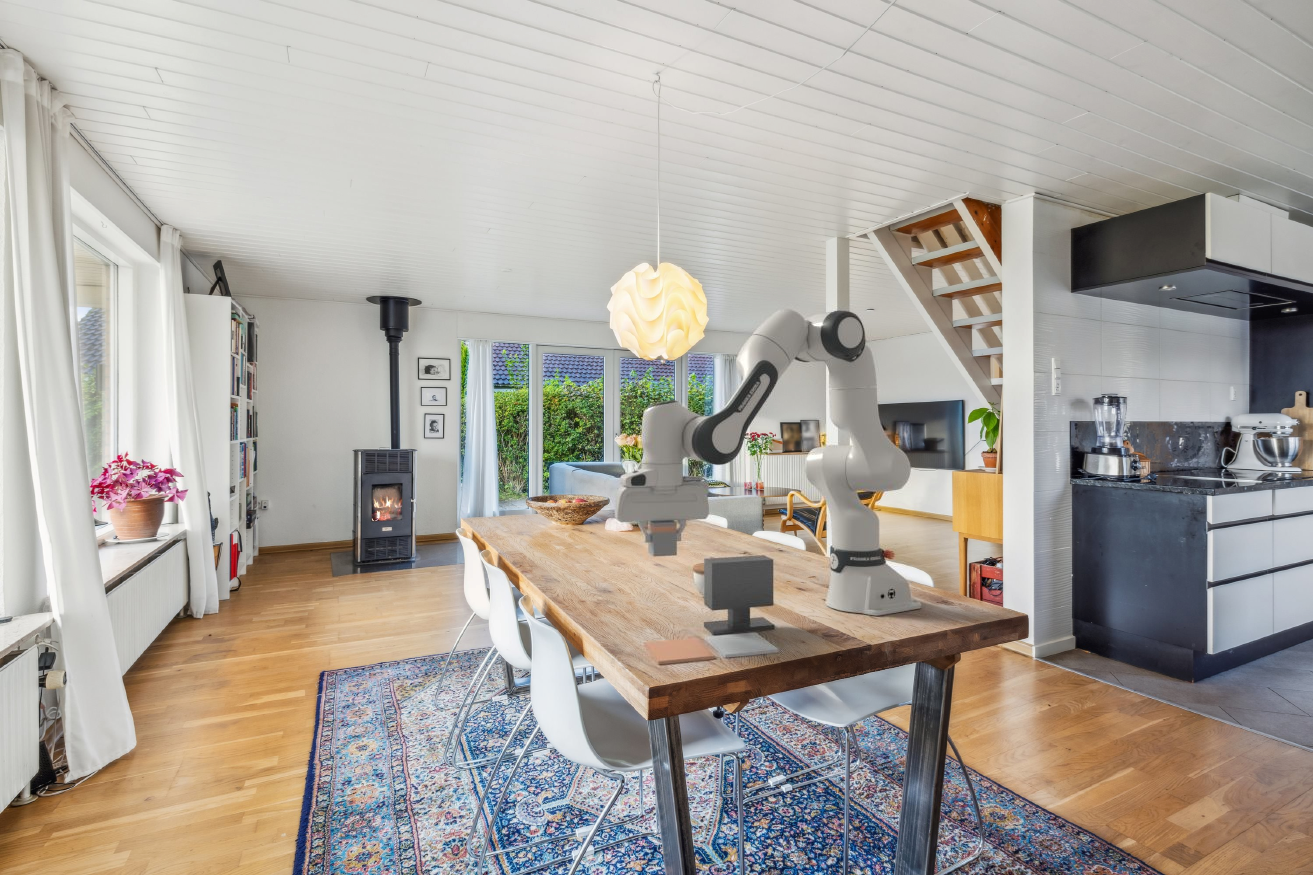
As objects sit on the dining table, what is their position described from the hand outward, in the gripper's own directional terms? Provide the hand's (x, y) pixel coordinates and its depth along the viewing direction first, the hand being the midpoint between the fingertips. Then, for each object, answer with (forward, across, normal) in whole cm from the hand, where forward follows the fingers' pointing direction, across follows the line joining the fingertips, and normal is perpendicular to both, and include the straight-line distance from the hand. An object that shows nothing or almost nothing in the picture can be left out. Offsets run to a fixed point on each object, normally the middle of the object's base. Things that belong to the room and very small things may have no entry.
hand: (662, 541), depth 140 cm
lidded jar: (+19, -20, -25) cm, 38 cm away
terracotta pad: (+19, 0, +13) cm, 23 cm away
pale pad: (+19, -13, +13) cm, 27 cm away
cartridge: (+3, 0, 0) cm, 3 cm away
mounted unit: (+19, -17, +2) cm, 25 cm away
